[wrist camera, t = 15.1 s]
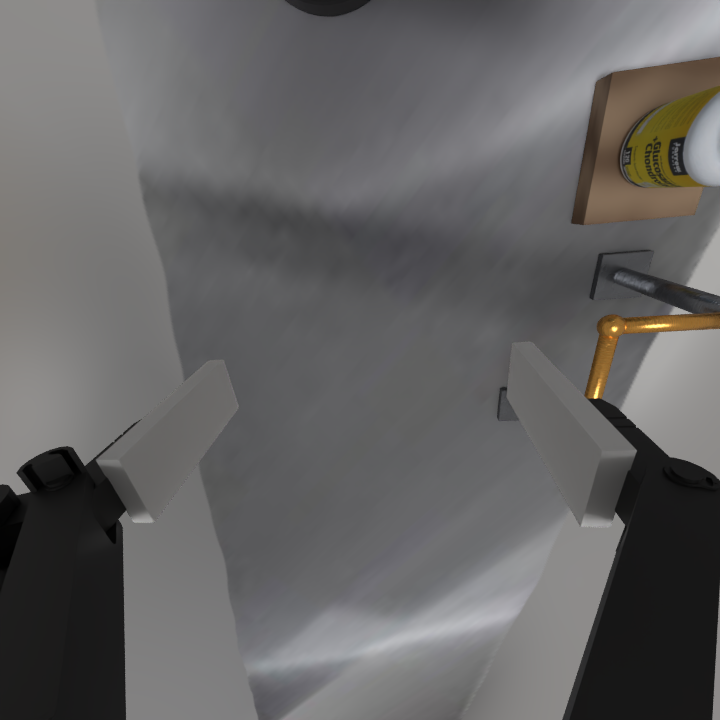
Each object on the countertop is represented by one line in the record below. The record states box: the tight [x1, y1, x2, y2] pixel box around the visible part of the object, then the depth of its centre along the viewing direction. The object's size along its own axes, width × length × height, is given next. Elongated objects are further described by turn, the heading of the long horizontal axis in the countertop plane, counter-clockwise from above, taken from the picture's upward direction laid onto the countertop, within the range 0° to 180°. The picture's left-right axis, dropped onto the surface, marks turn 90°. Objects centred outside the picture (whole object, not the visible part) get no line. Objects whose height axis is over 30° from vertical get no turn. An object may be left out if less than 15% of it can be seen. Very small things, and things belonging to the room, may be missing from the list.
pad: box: [572, 57, 720, 225], centre depth 30 cm, size 12×10×2 cm
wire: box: [497, 250, 720, 421], centre depth 34 cm, size 22×14×16 cm, turn 6°
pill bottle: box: [620, 86, 720, 188], centre depth 24 cm, size 6×6×12 cm
